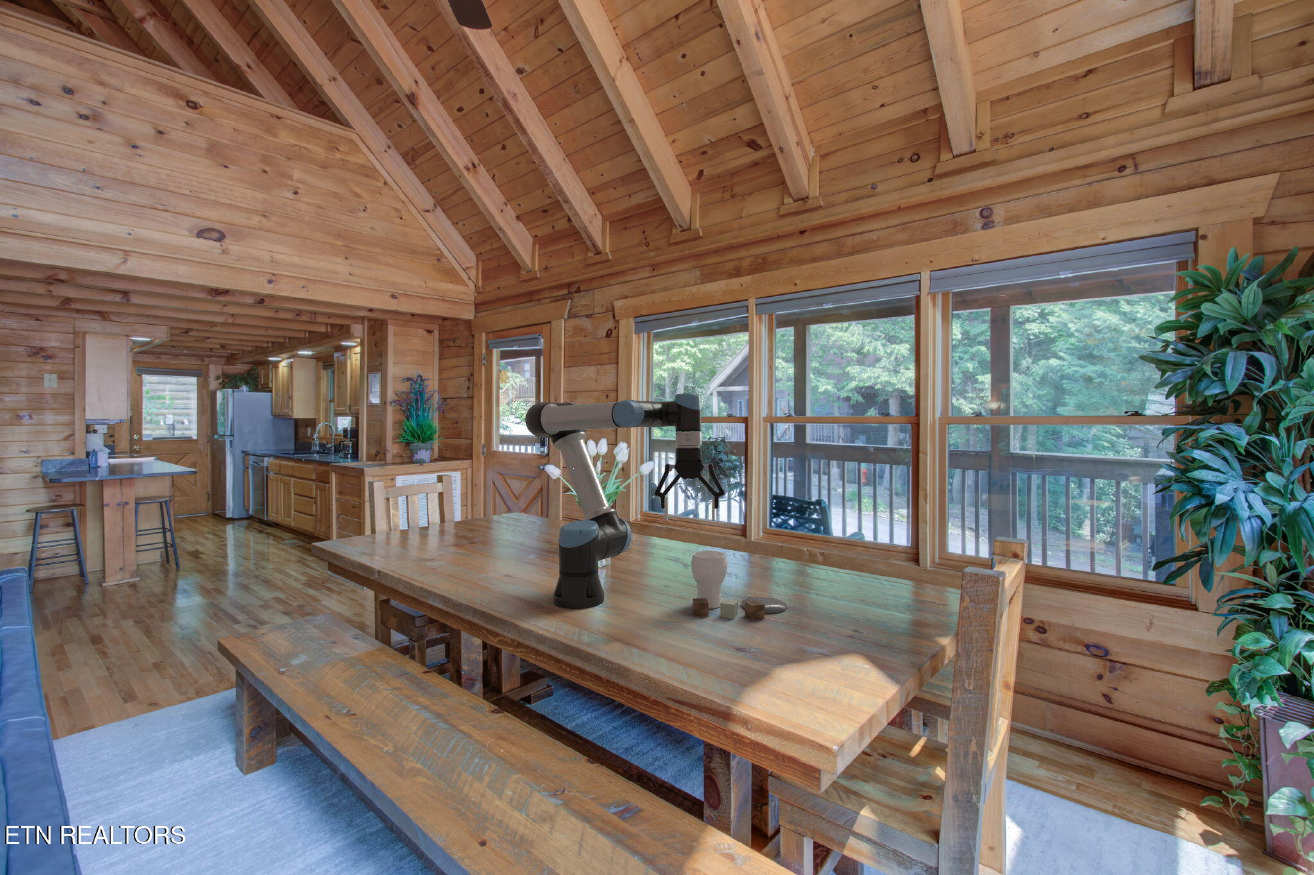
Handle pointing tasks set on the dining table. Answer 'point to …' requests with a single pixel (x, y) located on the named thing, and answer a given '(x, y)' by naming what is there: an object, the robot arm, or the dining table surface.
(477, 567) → the dining table surface
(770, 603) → the coaster
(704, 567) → the cup
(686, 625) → the dining table surface
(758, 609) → the block
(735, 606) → the block
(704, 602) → the block
